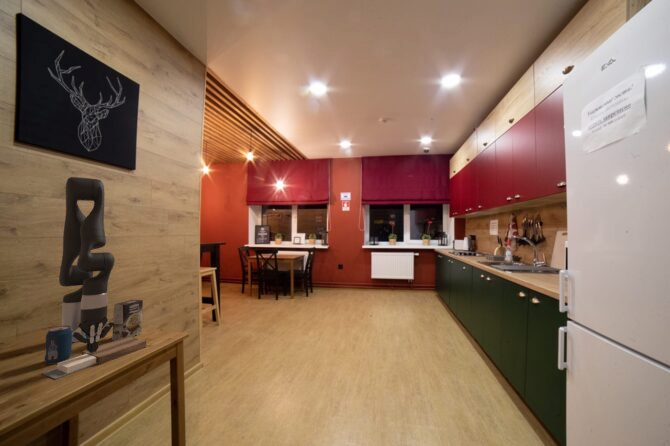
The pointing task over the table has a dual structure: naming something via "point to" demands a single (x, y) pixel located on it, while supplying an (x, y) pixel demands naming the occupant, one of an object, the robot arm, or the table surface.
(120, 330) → the coffee box
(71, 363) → the tile
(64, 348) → the soda can
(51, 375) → the mat
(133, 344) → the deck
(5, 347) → the table surface
